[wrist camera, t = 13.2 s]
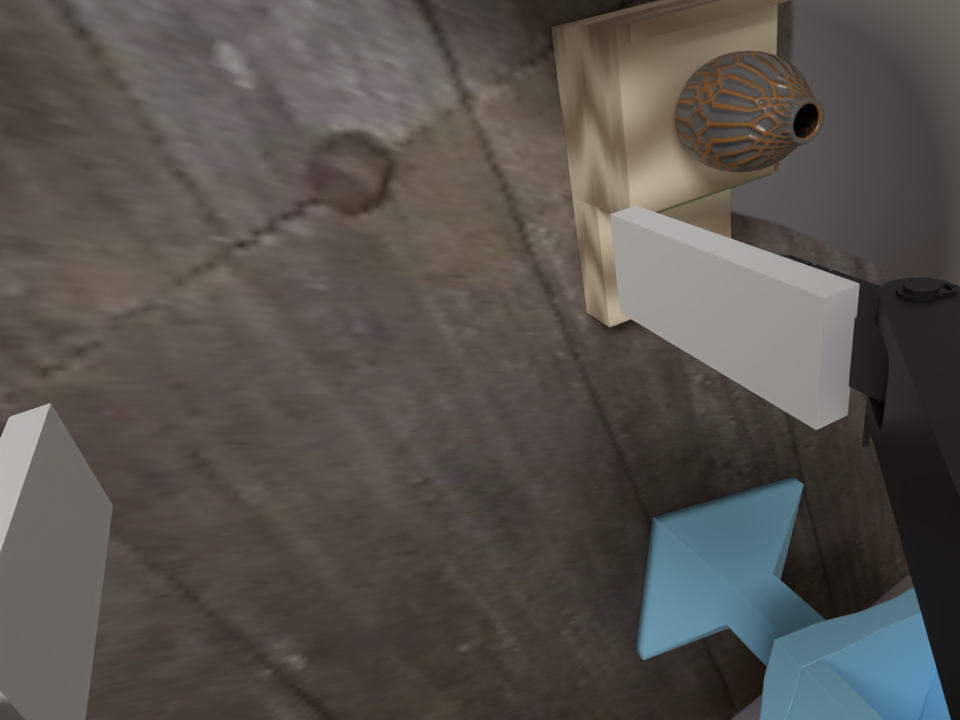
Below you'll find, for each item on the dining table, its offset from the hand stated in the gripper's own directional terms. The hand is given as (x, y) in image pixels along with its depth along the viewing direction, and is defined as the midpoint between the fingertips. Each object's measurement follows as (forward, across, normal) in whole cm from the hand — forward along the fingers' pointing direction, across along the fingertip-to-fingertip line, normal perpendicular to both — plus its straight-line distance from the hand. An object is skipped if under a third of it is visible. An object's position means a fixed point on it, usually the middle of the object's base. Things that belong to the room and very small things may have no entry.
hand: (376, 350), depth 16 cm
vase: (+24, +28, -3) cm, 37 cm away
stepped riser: (+32, +28, -8) cm, 43 cm away
